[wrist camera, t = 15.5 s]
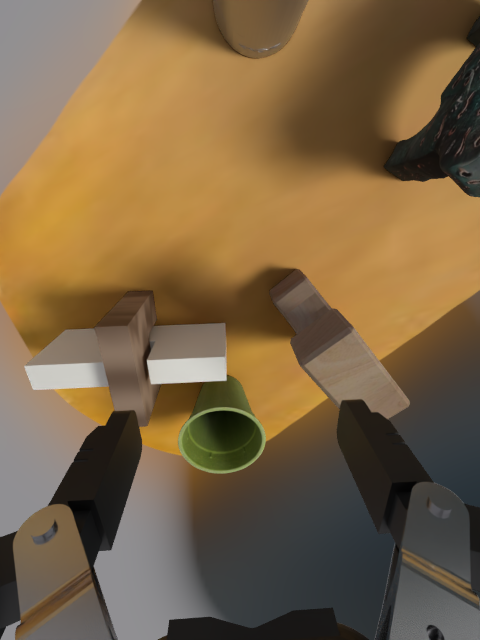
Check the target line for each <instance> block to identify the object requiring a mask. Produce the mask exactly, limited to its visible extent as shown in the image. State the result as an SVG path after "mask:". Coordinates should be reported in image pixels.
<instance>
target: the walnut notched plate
mask: <svg viewBox="0 0 480 640" xmlns="http://www.w3.org/2000/svg"><path fill="white" fill-rule="evenodd" d="M156 320H157V316H156V310H155V303H154V297H153V291H132V292H127V293H126V294H125V295H124V296H123V298H122V299H121V300H120V301H119V302H118V303H117V304H116V305H115V306H114V307H113V308H112V309H111V310H110V311H109V312H108V313H107V314H106V315H105V316H104V317H103V318H102V320H101V321H100V322H99V323H98V324H97V325H96V326H95V327H94V329H95V333H96V337H97V341H98V345H99V349H100V353H101V357H102V361H103V365H104V369H105V373H106V377H107V381H108V385H109V389H110V393H111V397H112V401H113V405H114V409H115V411H125V410H134V411H135V412H136V415H137V420H138V425H139V427H143V426H148V422H149V419H150V416H151V413H152V410H153V407H154V404H155V401H156V398H157V395H158V392H159V389H160V386H161V384H151V382H150V376H149V370H148V365H147V359H148V356H149V354H150V352H151V347H150V341H149V333H150V331H151V330H152V328H153V326H154V324H155V322H156Z"/></svg>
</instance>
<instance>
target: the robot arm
mask: <svg viewBox="0 0 480 640" xmlns="http://www.w3.org/2000/svg"><path fill="white" fill-rule="evenodd" d="M307 2H308V0H213V7H214V13H215V18H216V21H217V24H218V27H219V29H220V32H221V33H222V35H223V37H224V38H225V40H226V41H227V42H228V43H229V45H230V46H231V47H232V48H233V49H235V50H236V51H237V52H239V53H240V54H242V55H245V56H247V57H251V58H264V57H268V56H270V55H272V54H275V53H276V52H278V51H279V50H280V49H282V48H283V47H284V46H285V44H286V43H287V42H288V41H289V40H290V38H291V36H292V35H293V33H294V31H295V29H296V27H297V25H298V22H299V20H300V18H301V16H302V13H303V11H304V9H305V7H306V5H307ZM337 439H338V443H339V446H340V449H341V451H342V453H343V455H344V458H345V460H346V462H347V464H348V467H349V469H350V471H351V473H352V476H353V478H354V480H355V482H356V485H357V487H358V489H359V491H360V493H361V496H362V498H363V500H364V503H365V505H366V507H367V509H368V511H369V514H370V516H371V518H372V520H373V523H374V525H375V527H376V529H377V532H378V533H379V534H384V533H391V535H392V537H393V539H394V541H395V546H394V549H393V555H392V560H391V565H390V570H389V576H388V581H387V586H386V591H385V596H384V602H383V607H382V611H381V616H380V620H379V624H378V628H377V632H376V637H375V640H480V604H479V598H478V596H477V594H476V593H475V592H474V591H472V590H475V591H478V592H480V508H479V507H475V506H470V505H467V504H464V503H463V502H462V501H461V500H460V498H459V497H457V496H456V495H455V494H454V493H453V492H451V491H450V490H449V489H447V488H445V487H443V486H441V485H439V484H436V483H434V482H433V481H432V479H431V478H430V476H429V475H428V474H427V472H426V471H425V470H424V468H423V467H422V465H421V464H420V463H419V461H418V460H417V458H416V457H415V455H414V454H413V453H412V451H411V450H410V448H409V447H408V446H407V445H406V444H405V441H404V440H403V439H402V437H401V436H400V435H398V432H397V430H396V429H395V428H394V426H393V425H392V423H391V422H390V421H389V420H388V419H386V418H385V417H384V416H383V415H381V414H380V413H379V412H371V410H370V409H369V407H368V406H367V404H366V403H365V401H364V400H362V399H353V400H342V401H341V404H340V411H339V418H338V425H337ZM141 452H142V439H141V434H140V429H139V425H138V420H137V415H136V412H135V411H134V410H125V411H114V412H112V414H111V416H110V418H109V420H108V422H107V424H106V426H98V427H97V428H96V429H95V430H94V431H92V432H91V433H90V434H89V435H88V436H87V437H86V439H85V441H84V442H83V444H82V446H81V448H80V451H79V452H78V453H77V455H76V457H75V459H74V462H73V463H72V464H71V466H70V467H69V469H68V471H67V473H66V475H65V476H64V478H63V480H62V482H61V483H60V485H59V487H58V489H57V491H56V492H55V494H54V496H53V498H52V500H51V501H50V503H49V505H48V506H47V507H45V508H43V509H41V510H39V511H38V512H36V513H34V514H33V515H32V516H31V517H29V518H28V519H27V520H26V521H25V522H24V523H23V524H22V526H21V527H20V528H19V530H18V531H16V532H14V533H11V534H8V535H5V536H3V537H0V639H1V637H2V635H3V633H4V630H5V628H6V626H8V625H11V624H13V623H15V622H17V621H20V620H21V624H20V625H18V626H17V628H16V632H15V640H118V639H117V636H116V633H115V630H114V627H113V624H112V621H111V618H110V615H109V612H108V609H107V606H106V603H105V599H104V596H103V594H102V590H101V588H100V584H99V581H98V578H97V575H96V572H95V569H94V563H95V560H96V557H97V554H98V552H99V551H106V550H111V549H112V545H113V542H114V539H115V536H116V533H117V530H118V527H119V523H120V520H121V517H122V514H123V511H124V507H125V505H126V501H127V498H128V495H129V491H130V489H131V486H132V482H133V479H134V476H135V473H136V470H137V467H138V464H139V460H140V457H141ZM471 589H472V590H471ZM158 640H369V639H368V638H367V637H365V636H364V635H363V634H361V633H359V632H358V631H356V630H354V629H352V628H350V627H348V626H346V625H343V624H340V623H337V622H336V618H335V615H334V610H333V608H323V609H310V610H296V611H291V612H289V613H287V614H285V615H283V616H280V617H278V618H276V619H274V620H272V621H269V622H267V623H265V624H263V625H261V626H258V627H256V628H248V627H244V626H241V625H237V624H233V623H230V622H226V621H223V620H219V619H216V618H212V617H202V618H188V619H174V620H169V627H168V635H167V636H164V637H162V638H160V639H158Z"/></svg>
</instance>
